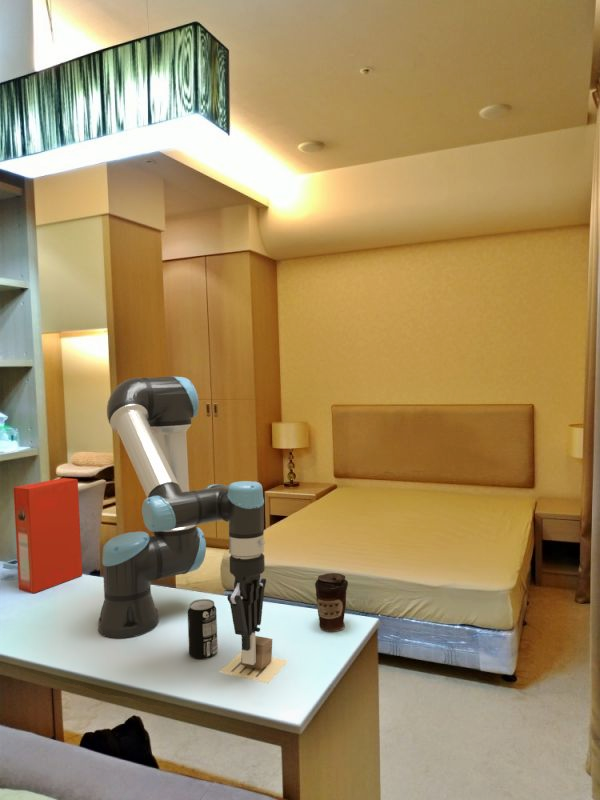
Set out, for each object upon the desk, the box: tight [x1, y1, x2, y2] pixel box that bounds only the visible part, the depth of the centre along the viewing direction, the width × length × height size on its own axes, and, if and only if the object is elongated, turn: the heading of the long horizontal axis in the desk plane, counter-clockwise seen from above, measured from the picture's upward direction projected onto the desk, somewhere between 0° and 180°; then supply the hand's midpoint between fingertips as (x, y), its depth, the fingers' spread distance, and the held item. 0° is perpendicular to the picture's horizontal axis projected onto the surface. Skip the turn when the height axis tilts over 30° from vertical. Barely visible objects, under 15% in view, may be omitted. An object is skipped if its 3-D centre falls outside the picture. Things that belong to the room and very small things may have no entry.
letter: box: [219, 651, 289, 684], centre depth 126 cm, size 12×10×1 cm
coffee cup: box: [314, 572, 349, 632], centre depth 145 cm, size 9×8×13 cm
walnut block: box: [241, 635, 273, 669], centre depth 127 cm, size 5×5×5 cm
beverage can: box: [187, 598, 219, 660], centre depth 133 cm, size 7×7×12 cm
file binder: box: [13, 477, 83, 594], centre depth 182 cm, size 8×17×32 cm, turn 149°
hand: (249, 662), depth 124 cm, fingers closed
